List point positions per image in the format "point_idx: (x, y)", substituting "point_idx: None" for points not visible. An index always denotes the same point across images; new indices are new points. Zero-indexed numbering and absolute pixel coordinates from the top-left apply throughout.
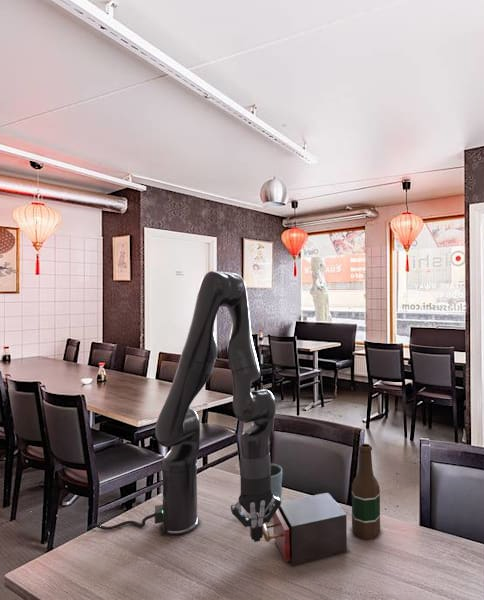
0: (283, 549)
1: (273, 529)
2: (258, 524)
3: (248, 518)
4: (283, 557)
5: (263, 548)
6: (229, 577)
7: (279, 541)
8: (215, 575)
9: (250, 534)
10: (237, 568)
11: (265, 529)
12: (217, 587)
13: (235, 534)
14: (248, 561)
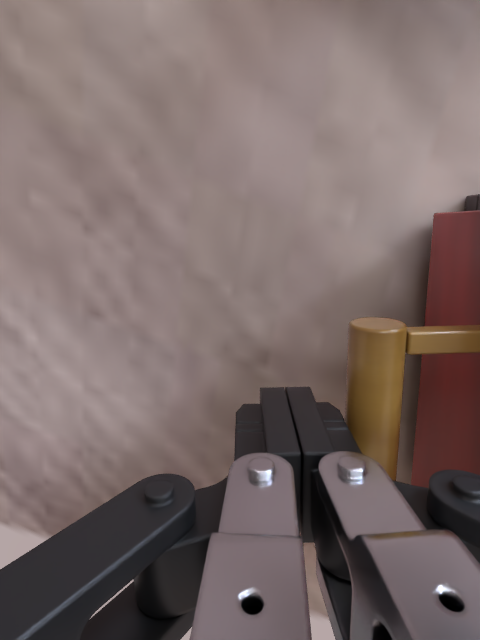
0: None
1: (462, 215)
2: (320, 574)
3: (205, 535)
4: (415, 464)
5: (331, 287)
6: (109, 465)
7: (447, 403)
8: (38, 429)
9: (236, 420)
10: (154, 414)
11: (384, 436)
12: (51, 510)
13: (170, 37)
14: (220, 378)
